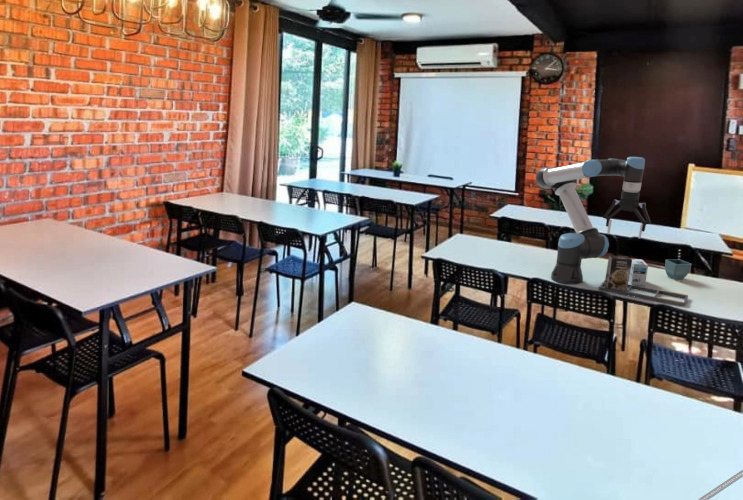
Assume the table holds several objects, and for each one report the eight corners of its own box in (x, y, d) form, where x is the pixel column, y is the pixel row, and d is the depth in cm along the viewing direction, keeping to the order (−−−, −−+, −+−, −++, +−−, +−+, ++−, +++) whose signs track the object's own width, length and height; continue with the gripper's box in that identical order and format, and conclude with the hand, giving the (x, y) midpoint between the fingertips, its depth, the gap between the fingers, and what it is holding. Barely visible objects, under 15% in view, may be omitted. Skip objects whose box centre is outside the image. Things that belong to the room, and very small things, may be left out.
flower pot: (689, 280, 272) (692, 264, 269) (673, 281, 271) (676, 264, 268) (677, 275, 280) (680, 259, 278) (662, 275, 279) (664, 259, 277)
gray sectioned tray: (598, 290, 254) (599, 286, 254) (604, 283, 265) (605, 279, 264) (684, 306, 235) (685, 303, 234) (687, 298, 245) (688, 294, 245)
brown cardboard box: (607, 290, 254) (612, 258, 249) (603, 286, 260) (608, 254, 256) (627, 292, 252) (632, 259, 248) (623, 287, 259) (628, 255, 254)
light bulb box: (645, 285, 262) (648, 264, 260) (630, 284, 264) (634, 263, 261) (639, 279, 273) (642, 259, 270) (625, 278, 274) (628, 258, 271)
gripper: (600, 189, 247) (594, 233, 253) (660, 195, 234) (652, 241, 240) (603, 187, 253) (597, 230, 259) (662, 193, 240) (654, 238, 246)
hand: (623, 235), depth 250 cm, fingers open, 13 cm apart
